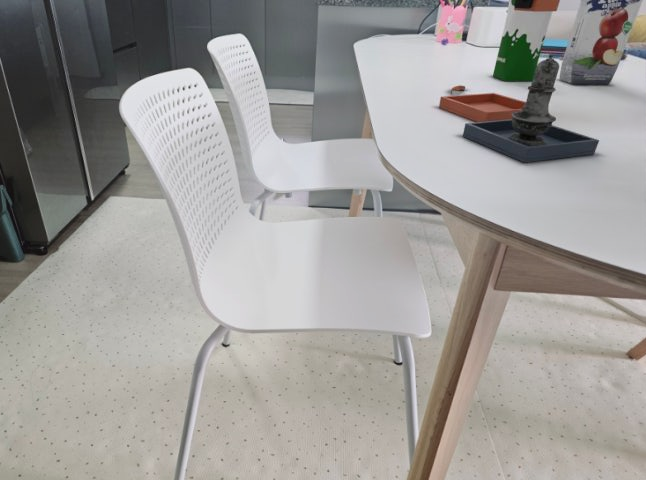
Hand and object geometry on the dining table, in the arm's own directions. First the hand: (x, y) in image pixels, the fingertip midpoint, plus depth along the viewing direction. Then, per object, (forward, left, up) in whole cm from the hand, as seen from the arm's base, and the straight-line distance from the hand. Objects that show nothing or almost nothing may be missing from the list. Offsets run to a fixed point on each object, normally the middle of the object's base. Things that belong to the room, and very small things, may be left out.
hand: (535, 6), depth 75 cm
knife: (-3, -19, -17) cm, 25 cm away
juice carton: (-41, -21, -17) cm, 49 cm away
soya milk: (-28, -30, -17) cm, 45 cm away
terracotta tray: (+2, -3, -17) cm, 17 cm away
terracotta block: (0, 0, -1) cm, 1 cm away
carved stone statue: (+10, +15, -17) cm, 25 cm away
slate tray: (+10, +16, -17) cm, 25 cm away
